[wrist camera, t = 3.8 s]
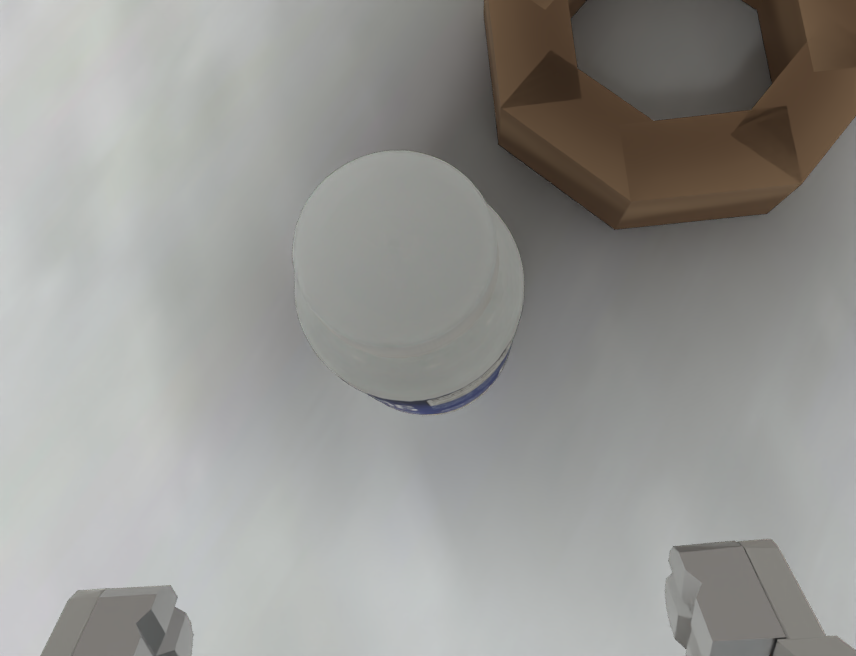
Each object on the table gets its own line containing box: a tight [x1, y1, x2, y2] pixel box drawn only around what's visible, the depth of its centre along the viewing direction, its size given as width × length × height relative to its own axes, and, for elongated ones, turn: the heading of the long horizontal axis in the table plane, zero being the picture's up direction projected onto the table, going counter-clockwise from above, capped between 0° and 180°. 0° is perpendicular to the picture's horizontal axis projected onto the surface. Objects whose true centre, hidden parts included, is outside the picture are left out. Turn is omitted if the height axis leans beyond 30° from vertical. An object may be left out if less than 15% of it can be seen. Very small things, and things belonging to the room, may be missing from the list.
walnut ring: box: [484, 0, 856, 230], centre depth 22 cm, size 12×12×2 cm
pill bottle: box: [292, 150, 524, 415], centre depth 18 cm, size 5×5×10 cm
